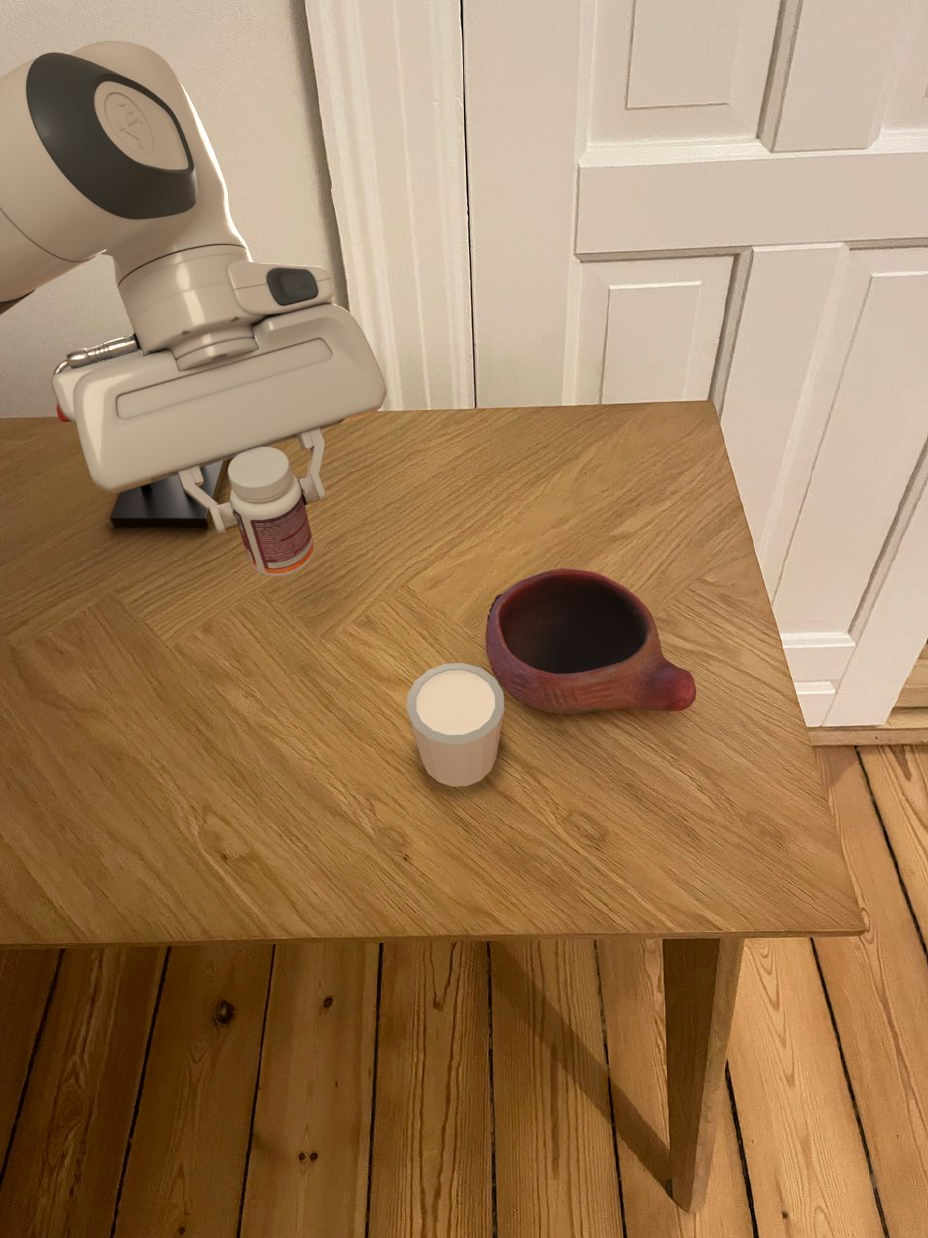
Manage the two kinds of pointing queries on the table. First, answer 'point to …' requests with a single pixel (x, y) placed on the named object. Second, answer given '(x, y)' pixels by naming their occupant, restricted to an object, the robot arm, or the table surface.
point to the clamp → (168, 502)
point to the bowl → (581, 647)
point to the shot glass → (456, 722)
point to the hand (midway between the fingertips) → (273, 516)
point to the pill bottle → (270, 512)
